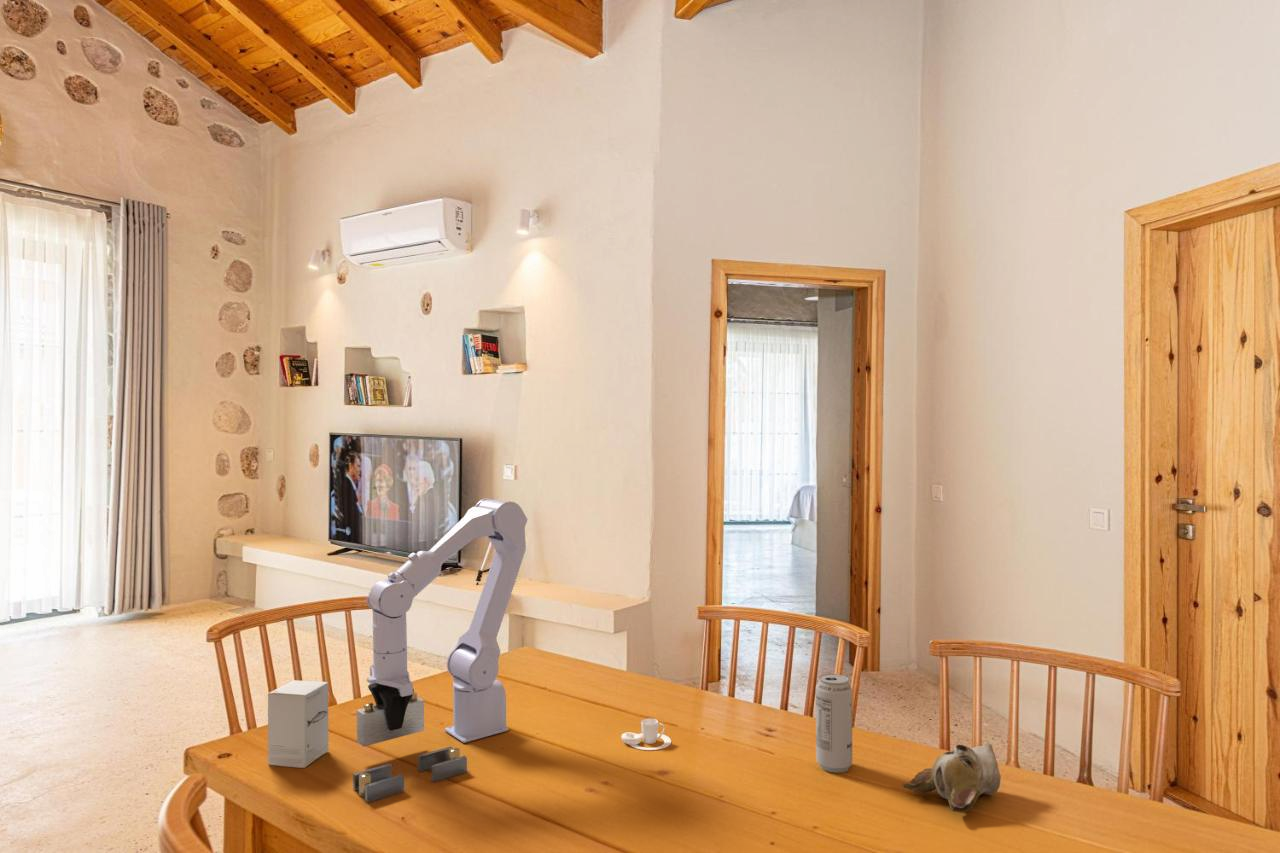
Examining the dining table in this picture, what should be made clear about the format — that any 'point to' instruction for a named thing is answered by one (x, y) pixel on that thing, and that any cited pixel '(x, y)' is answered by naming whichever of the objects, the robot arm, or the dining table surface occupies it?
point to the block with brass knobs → (376, 727)
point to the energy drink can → (834, 723)
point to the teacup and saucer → (647, 735)
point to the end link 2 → (443, 763)
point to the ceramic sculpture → (960, 776)
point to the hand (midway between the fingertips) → (391, 725)
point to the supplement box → (297, 723)
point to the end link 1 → (377, 783)
